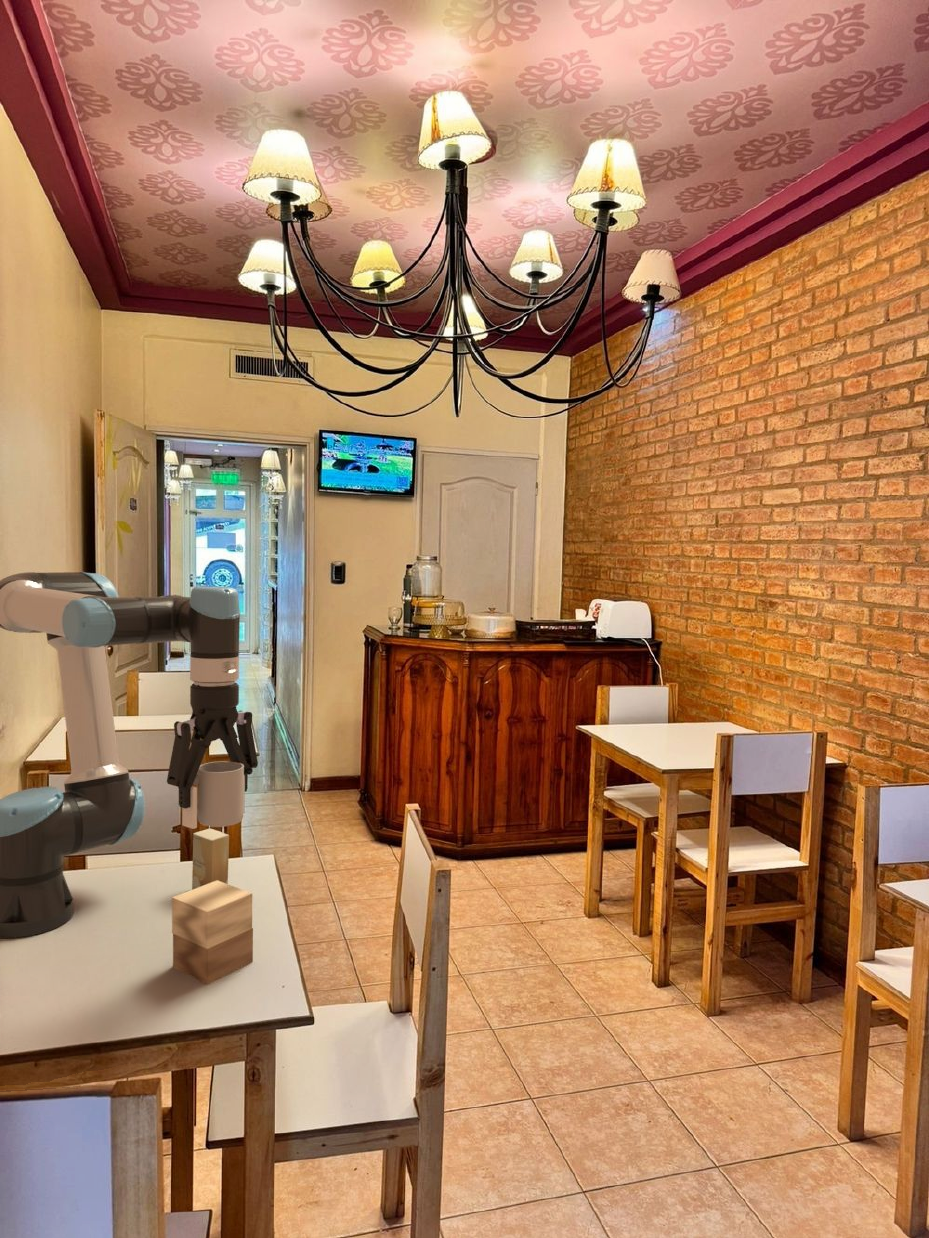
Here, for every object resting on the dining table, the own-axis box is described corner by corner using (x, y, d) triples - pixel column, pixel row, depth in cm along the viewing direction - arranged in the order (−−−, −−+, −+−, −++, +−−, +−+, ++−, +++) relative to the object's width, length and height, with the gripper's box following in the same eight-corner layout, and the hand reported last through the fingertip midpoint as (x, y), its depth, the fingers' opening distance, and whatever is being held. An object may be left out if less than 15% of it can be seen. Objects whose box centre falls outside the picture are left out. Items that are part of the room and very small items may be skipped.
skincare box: (191, 892, 162) (191, 832, 161) (209, 885, 166) (209, 827, 165) (211, 900, 159) (211, 839, 158) (229, 893, 162) (229, 833, 161)
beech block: (172, 932, 132) (172, 897, 132) (217, 913, 140) (217, 880, 139) (207, 948, 127) (207, 912, 127) (252, 928, 135) (252, 893, 134)
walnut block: (173, 967, 133) (173, 932, 132) (217, 947, 140) (217, 913, 140) (208, 985, 128) (208, 948, 127) (252, 962, 135) (253, 928, 135)
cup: (246, 824, 130) (246, 770, 130) (181, 831, 126) (181, 775, 126) (240, 811, 137) (240, 759, 136) (178, 817, 133) (178, 764, 132)
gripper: (171, 692, 119) (171, 841, 121) (281, 677, 137) (279, 808, 139) (141, 687, 124) (141, 831, 125) (251, 673, 141) (250, 799, 143)
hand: (214, 819), depth 132 cm, fingers closed on cup, 9 cm apart
